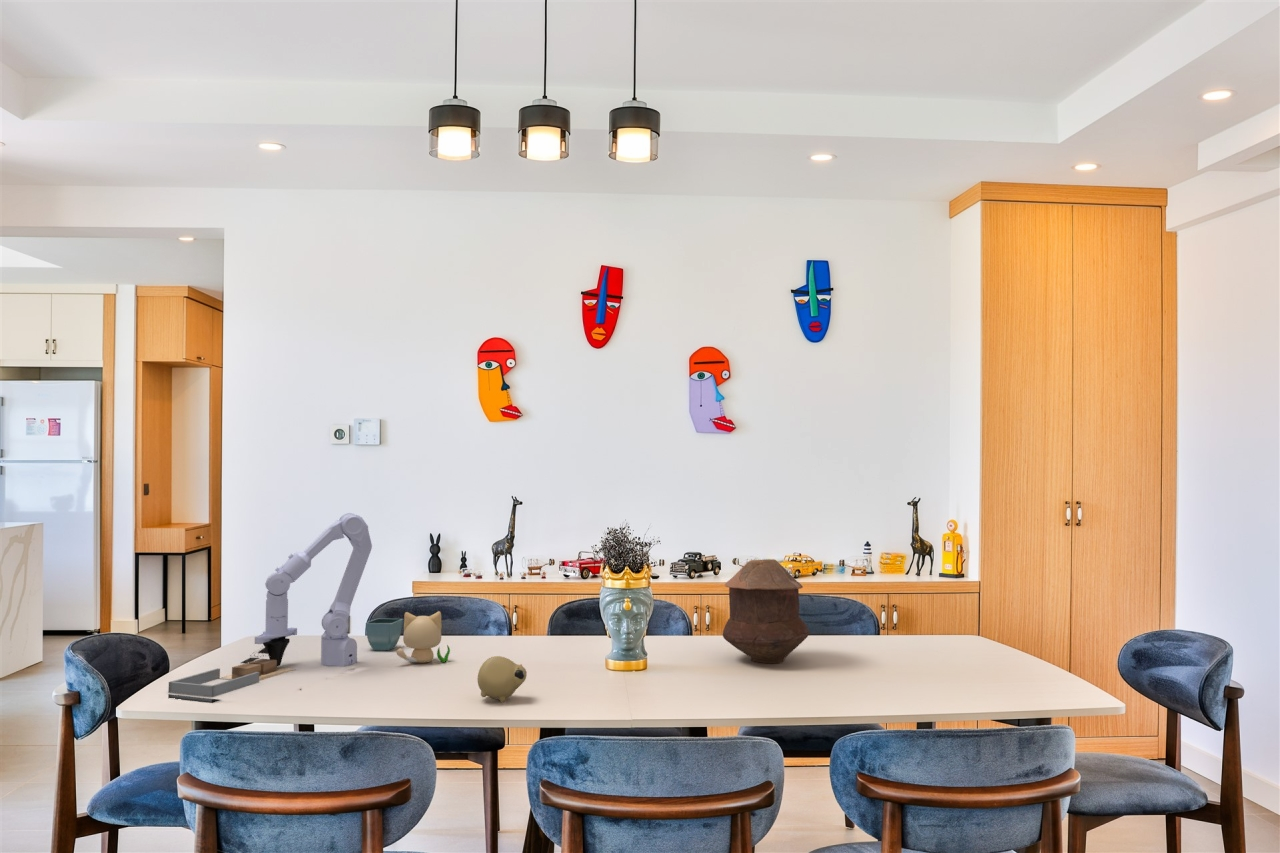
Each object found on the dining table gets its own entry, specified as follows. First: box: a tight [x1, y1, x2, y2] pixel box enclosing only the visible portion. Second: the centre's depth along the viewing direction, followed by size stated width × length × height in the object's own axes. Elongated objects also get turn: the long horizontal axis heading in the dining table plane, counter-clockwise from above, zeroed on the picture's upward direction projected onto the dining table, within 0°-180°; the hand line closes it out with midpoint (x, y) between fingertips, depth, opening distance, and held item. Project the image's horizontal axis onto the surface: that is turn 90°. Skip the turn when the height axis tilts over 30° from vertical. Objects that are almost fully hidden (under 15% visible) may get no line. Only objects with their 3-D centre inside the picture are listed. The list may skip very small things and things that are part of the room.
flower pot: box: [365, 618, 404, 651], centre depth 279 cm, size 9×9×9 cm
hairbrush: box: [240, 645, 268, 664], centre depth 260 cm, size 8×4×25 cm
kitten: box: [396, 610, 451, 664], centre depth 260 cm, size 15×10×15 cm, turn 100°
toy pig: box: [477, 655, 527, 703], centre depth 219 cm, size 10×12×11 cm
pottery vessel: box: [722, 558, 810, 664], centre depth 264 cm, size 26×26×30 cm
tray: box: [167, 667, 260, 704], centre depth 225 cm, size 14×16×4 cm
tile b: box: [231, 662, 261, 679], centre depth 235 cm, size 5×5×3 cm
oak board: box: [221, 667, 296, 682], centre depth 239 cm, size 12×15×2 cm
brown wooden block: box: [248, 658, 278, 675], centre depth 241 cm, size 5×5×3 cm
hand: (275, 665), depth 245 cm, fingers closed
